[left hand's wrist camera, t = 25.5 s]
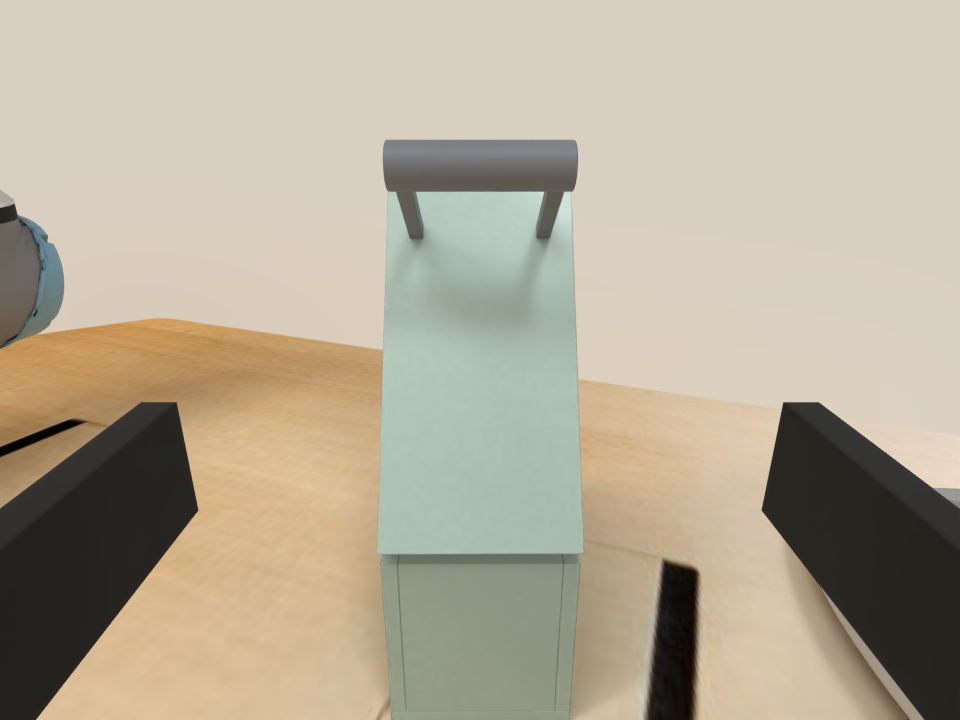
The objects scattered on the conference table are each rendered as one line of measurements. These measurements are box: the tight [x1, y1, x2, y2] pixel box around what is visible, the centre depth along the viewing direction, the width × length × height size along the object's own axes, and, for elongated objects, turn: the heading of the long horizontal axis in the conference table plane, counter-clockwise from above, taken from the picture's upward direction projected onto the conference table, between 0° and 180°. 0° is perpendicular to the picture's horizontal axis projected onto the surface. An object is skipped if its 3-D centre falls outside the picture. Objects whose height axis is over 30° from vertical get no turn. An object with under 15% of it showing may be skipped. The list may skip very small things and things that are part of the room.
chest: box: [380, 554, 581, 720], centre depth 36 cm, size 17×9×10 cm, turn 0°
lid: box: [377, 140, 584, 554], centre depth 24 cm, size 18×9×8 cm
